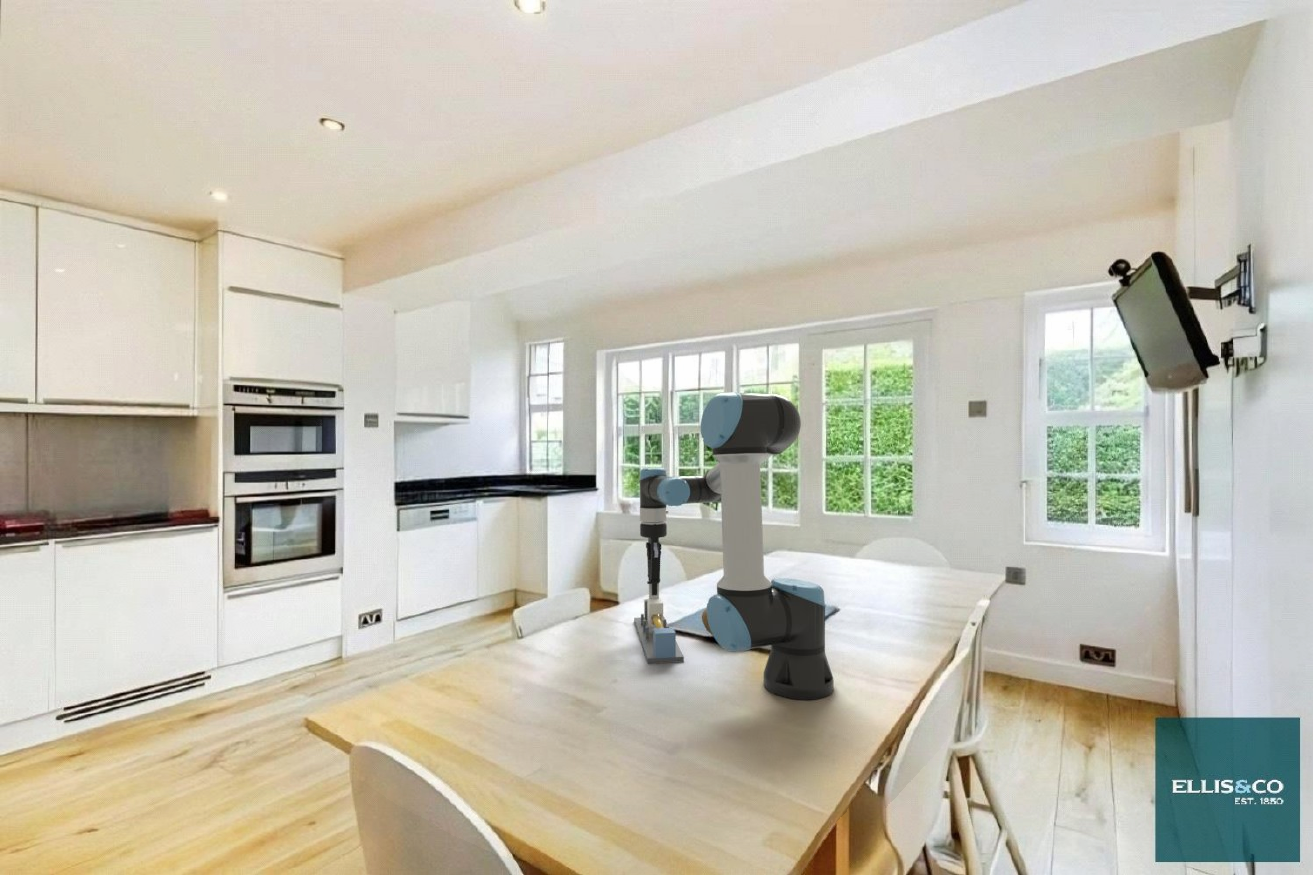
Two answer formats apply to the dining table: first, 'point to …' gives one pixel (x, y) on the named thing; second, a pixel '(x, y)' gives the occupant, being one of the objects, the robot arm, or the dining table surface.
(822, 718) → the dining table surface
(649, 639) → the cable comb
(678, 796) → the dining table surface
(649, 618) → the sleeve
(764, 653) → the dining table surface
